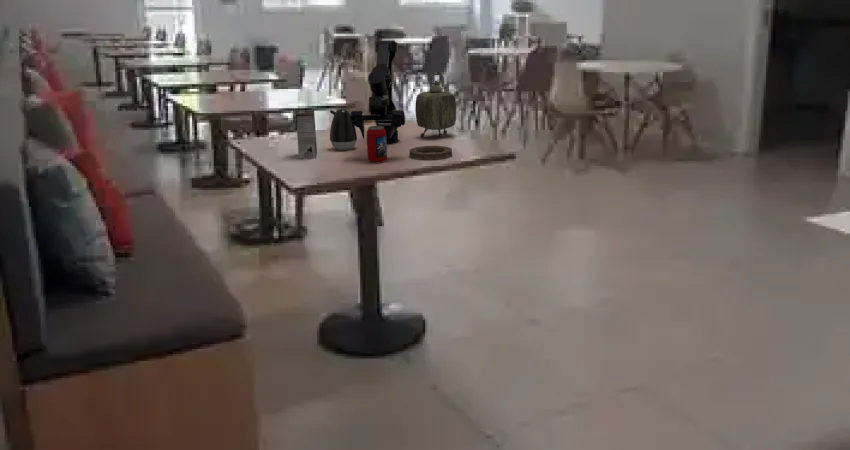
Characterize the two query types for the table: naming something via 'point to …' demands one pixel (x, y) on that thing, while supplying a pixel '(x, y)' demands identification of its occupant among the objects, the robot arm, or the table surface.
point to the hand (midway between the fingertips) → (376, 137)
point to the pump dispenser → (342, 130)
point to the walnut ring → (423, 153)
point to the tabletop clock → (435, 109)
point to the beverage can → (376, 144)
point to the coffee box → (306, 134)
